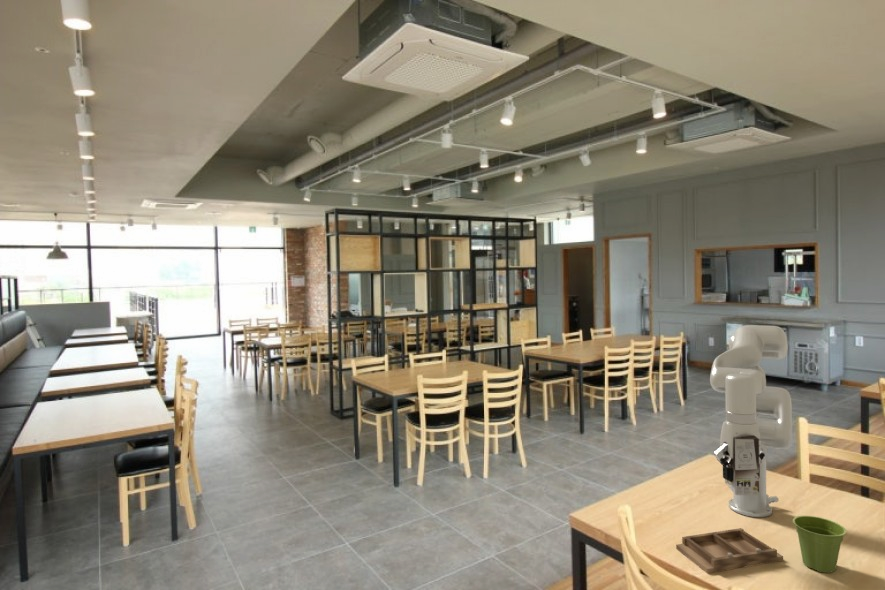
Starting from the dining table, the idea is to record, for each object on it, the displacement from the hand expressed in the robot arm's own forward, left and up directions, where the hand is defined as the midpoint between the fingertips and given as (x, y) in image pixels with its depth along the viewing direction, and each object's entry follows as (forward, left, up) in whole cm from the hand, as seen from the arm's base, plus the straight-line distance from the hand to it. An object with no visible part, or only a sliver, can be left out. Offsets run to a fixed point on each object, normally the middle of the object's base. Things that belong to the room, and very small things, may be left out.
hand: (741, 477), depth 150 cm
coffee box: (0, 0, -4) cm, 4 cm away
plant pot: (-14, +11, -22) cm, 28 cm away
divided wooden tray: (+5, 0, -22) cm, 22 cm away
